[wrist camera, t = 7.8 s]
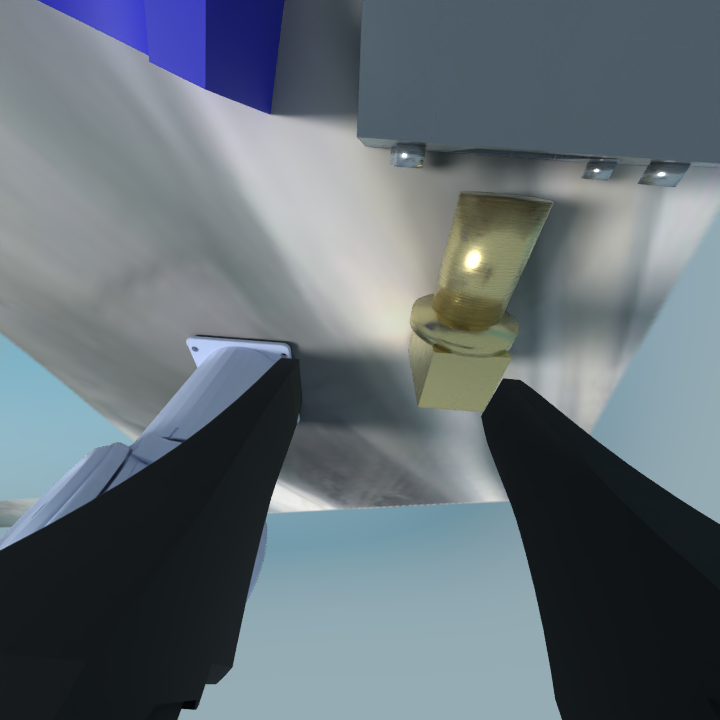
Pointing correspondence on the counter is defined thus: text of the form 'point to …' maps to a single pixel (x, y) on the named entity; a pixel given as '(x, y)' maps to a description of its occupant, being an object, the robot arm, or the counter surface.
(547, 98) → the block
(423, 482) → the counter surface
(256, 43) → the cable clip
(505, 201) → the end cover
